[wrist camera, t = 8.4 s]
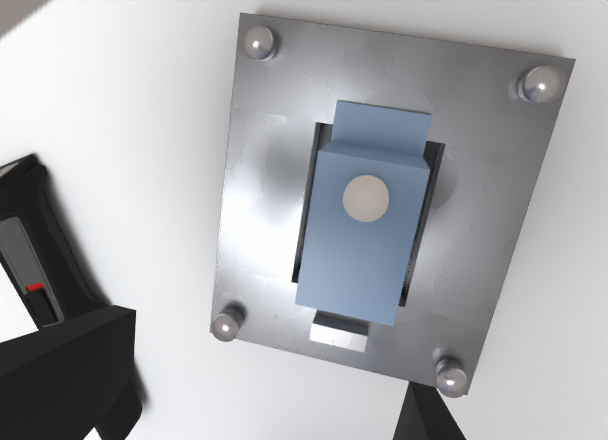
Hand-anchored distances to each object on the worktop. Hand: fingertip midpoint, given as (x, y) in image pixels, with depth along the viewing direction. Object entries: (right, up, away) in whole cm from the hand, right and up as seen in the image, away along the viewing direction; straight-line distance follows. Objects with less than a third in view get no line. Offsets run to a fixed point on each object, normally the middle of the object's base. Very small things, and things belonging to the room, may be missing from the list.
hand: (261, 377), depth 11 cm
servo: (+4, +5, +8) cm, 10 cm away
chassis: (+4, +4, +8) cm, 10 cm away
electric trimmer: (-11, 0, +13) cm, 17 cm away
